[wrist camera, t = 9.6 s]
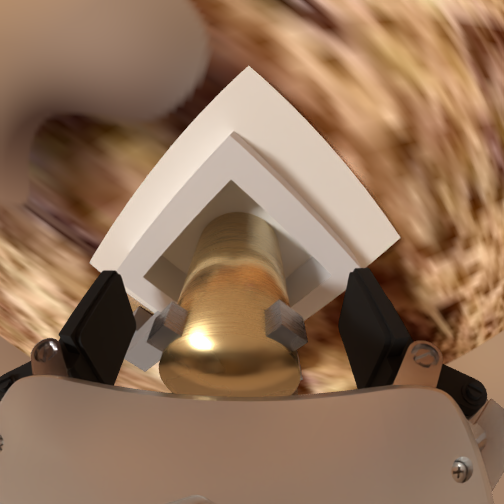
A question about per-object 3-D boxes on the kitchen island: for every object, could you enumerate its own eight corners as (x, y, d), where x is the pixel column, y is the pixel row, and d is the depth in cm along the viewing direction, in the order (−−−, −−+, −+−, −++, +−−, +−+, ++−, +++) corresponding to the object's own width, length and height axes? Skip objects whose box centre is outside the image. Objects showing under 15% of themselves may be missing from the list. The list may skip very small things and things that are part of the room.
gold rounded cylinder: (308, 247, 14) (350, 374, 8) (242, 304, 16) (238, 429, 9) (234, 180, 13) (213, 281, 6) (170, 251, 15) (117, 373, 8)
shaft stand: (418, 271, 17) (446, 305, 14) (244, 390, 23) (244, 427, 20) (248, 70, 12) (248, 54, 8) (80, 283, 18) (54, 318, 14)
